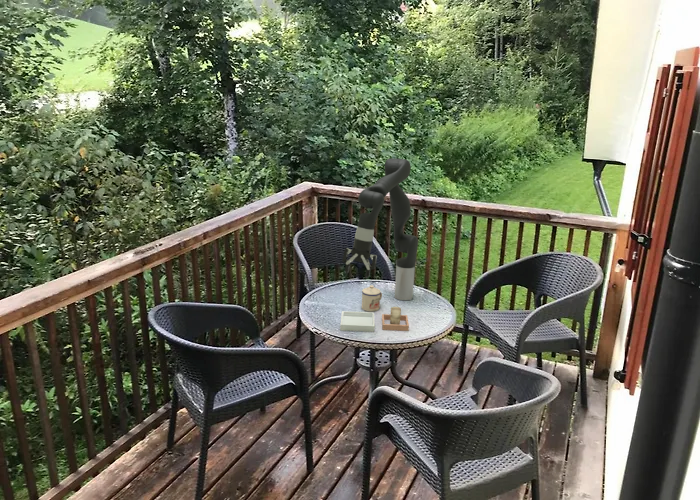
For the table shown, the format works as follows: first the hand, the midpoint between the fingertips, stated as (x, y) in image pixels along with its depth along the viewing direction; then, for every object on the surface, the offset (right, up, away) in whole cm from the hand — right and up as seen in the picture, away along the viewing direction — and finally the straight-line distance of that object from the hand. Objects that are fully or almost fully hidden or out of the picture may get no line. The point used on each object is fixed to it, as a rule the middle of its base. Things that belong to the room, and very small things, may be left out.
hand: (356, 275), depth 237 cm
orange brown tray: (+18, -23, +18) cm, 34 cm away
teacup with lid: (+8, -17, +36) cm, 41 cm away
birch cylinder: (+18, -23, +18) cm, 34 cm away
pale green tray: (+1, -23, +17) cm, 29 cm away
